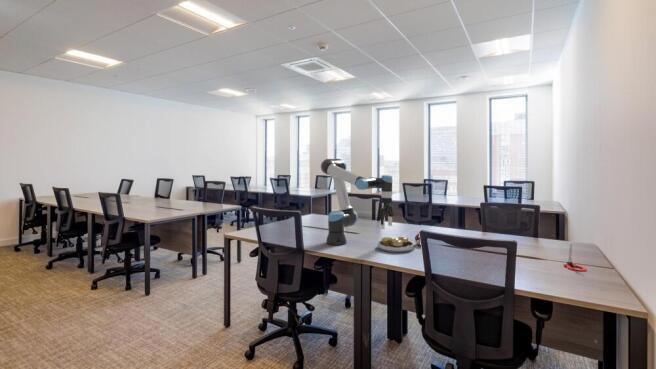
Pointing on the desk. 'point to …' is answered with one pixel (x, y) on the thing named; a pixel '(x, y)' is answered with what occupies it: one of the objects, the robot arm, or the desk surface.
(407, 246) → the carrier plate
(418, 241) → the brake caliper
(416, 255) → the desk surface
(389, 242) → the planet gear
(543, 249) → the desk surface
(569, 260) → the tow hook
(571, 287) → the desk surface
